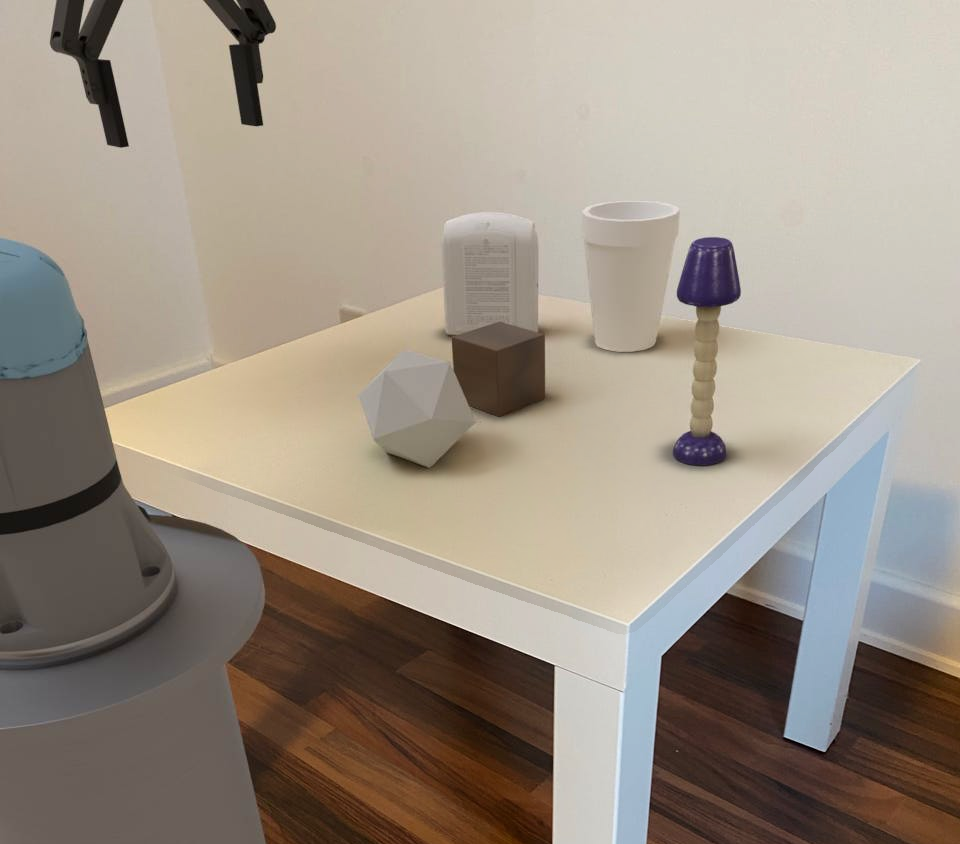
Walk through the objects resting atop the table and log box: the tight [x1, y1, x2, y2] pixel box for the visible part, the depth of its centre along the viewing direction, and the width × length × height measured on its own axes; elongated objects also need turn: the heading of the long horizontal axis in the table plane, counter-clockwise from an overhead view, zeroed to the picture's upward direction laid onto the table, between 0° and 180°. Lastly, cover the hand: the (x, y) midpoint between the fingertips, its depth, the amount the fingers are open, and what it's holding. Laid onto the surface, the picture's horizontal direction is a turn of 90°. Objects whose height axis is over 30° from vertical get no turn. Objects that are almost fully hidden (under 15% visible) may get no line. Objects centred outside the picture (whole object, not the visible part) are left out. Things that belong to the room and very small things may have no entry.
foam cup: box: [580, 199, 681, 353], centre depth 102 cm, size 10×9×13 cm
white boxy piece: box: [440, 211, 539, 336], centre depth 107 cm, size 10×4×12 cm, turn 81°
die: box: [357, 348, 477, 469], centre depth 82 cm, size 8×9×10 cm
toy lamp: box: [672, 236, 742, 466], centre depth 77 cm, size 5×5×17 cm
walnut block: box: [451, 322, 546, 417], centre depth 92 cm, size 6×6×6 cm
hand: (187, 135), depth 91 cm, fingers open, 13 cm apart
